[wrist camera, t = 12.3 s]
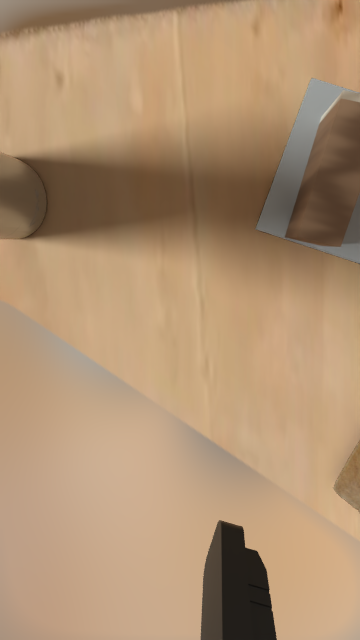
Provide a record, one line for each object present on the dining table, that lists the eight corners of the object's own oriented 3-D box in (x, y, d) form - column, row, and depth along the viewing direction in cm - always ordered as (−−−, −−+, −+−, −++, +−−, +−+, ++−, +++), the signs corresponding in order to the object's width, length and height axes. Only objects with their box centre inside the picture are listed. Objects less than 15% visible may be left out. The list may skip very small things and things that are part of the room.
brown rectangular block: (297, 236, 30) (343, 90, 27) (284, 237, 36) (321, 116, 32) (340, 246, 30) (392, 100, 26) (320, 245, 35) (361, 125, 32)
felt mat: (255, 229, 36) (255, 229, 36) (310, 80, 32) (311, 77, 32) (367, 266, 36) (369, 266, 35) (436, 120, 32) (440, 118, 31)
